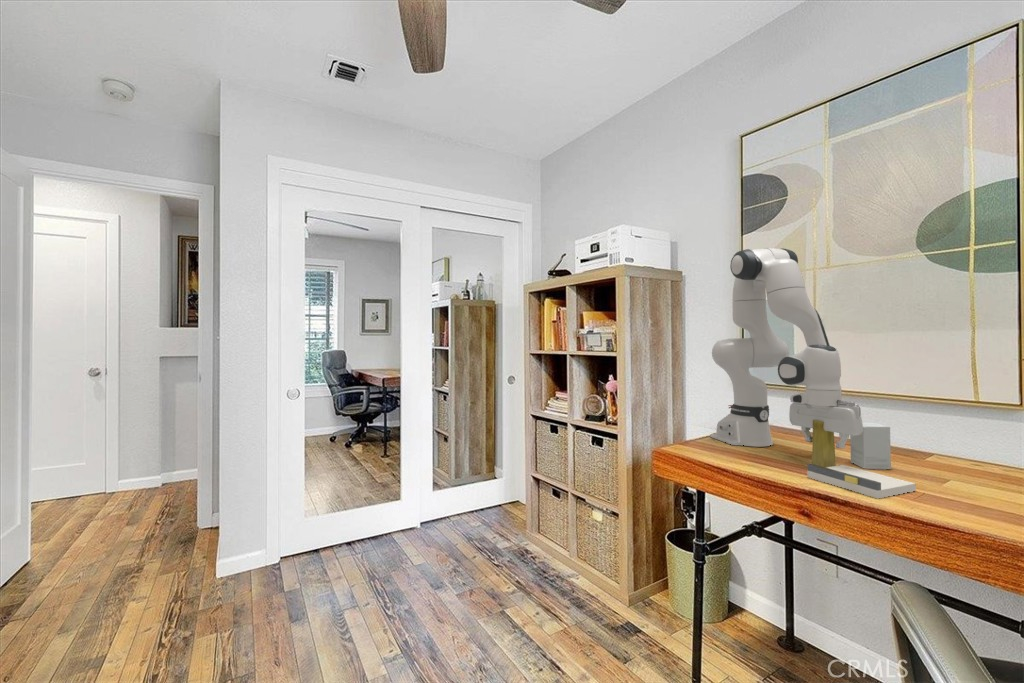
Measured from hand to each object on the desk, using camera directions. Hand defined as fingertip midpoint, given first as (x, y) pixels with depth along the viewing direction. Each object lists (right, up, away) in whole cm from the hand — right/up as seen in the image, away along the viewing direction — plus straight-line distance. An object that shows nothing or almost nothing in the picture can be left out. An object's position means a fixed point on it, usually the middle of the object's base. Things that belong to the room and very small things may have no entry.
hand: (824, 445), depth 134 cm
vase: (0, -7, +1) cm, 7 cm away
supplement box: (+15, -7, +1) cm, 16 cm away
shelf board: (-1, -7, -15) cm, 16 cm away
